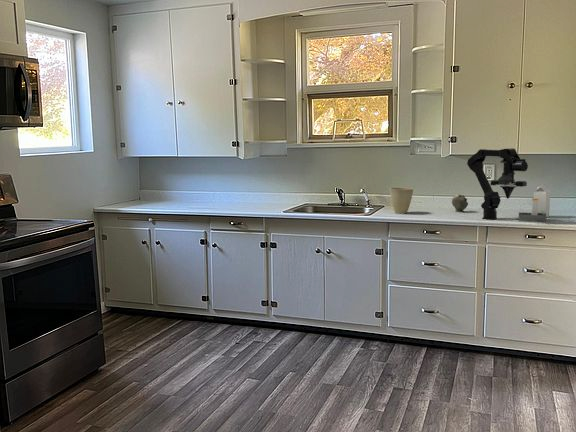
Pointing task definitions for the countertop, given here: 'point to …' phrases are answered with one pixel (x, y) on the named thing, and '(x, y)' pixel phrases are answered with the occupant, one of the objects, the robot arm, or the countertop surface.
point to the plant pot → (401, 199)
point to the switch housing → (533, 217)
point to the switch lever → (534, 206)
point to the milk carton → (543, 199)
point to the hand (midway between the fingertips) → (507, 198)
